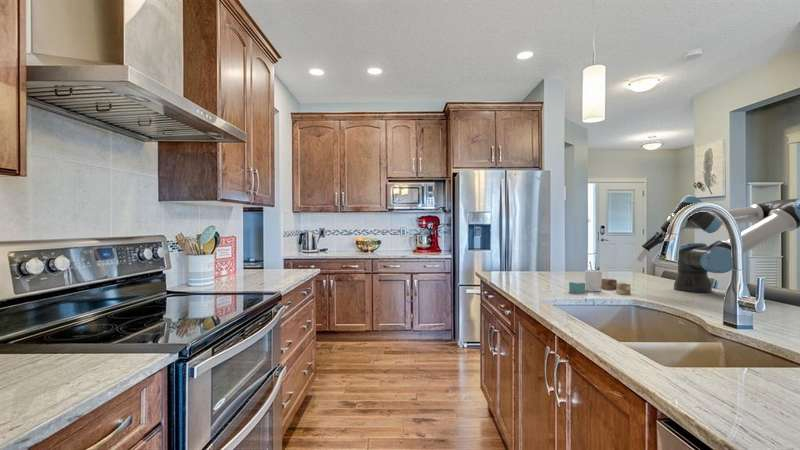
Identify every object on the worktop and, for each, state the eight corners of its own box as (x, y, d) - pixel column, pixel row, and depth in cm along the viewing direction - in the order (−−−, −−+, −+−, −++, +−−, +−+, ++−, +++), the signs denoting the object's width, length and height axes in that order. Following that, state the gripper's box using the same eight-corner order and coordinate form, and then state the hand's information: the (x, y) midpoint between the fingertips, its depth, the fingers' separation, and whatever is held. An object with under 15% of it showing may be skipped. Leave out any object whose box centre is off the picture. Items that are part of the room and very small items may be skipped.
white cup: (605, 290, 189) (605, 270, 189) (597, 292, 184) (596, 272, 184) (590, 288, 195) (589, 269, 195) (581, 290, 191) (581, 270, 191)
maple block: (628, 292, 183) (628, 282, 183) (630, 294, 178) (630, 284, 178) (616, 292, 185) (616, 282, 185) (618, 294, 180) (618, 283, 180)
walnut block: (610, 288, 197) (610, 278, 197) (616, 289, 192) (616, 279, 192) (601, 288, 197) (601, 278, 197) (607, 289, 192) (607, 280, 192)
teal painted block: (577, 291, 188) (577, 281, 188) (585, 293, 183) (585, 282, 183) (569, 292, 186) (569, 282, 186) (577, 293, 181) (577, 283, 181)
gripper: (651, 220, 190) (625, 255, 191) (684, 220, 165) (654, 259, 166) (664, 229, 190) (638, 263, 191) (699, 230, 165) (669, 269, 166)
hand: (645, 261), depth 178 cm, fingers open, 13 cm apart
